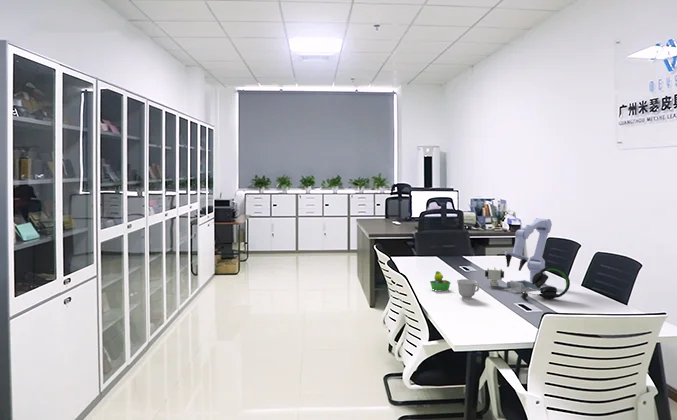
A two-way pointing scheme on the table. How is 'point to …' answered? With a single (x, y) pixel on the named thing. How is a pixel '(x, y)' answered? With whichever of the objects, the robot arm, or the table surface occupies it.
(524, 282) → the corner walls
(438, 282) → the fruit basket
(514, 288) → the angle bracket
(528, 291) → the pad
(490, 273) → the pneumatic valve
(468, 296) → the teacup
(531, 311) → the table surface
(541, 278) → the headset
